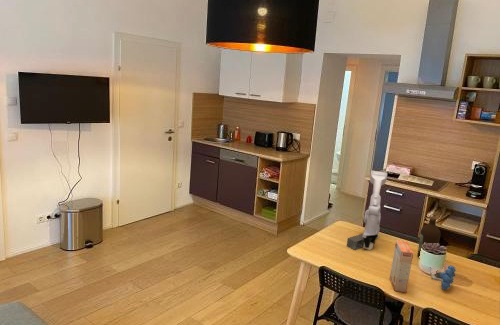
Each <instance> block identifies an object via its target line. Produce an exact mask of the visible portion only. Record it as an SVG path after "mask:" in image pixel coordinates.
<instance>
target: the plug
mask: <svg viewBox="0 0 500 325" xmlns="http://www.w3.org/2000/svg"><path fill="white" fill-rule="evenodd" d="M362 248H363V249H366V250H367V251H369V250H372V249H374V244H373V243H371V242H370V245H369V248H367V247H365V243H364V242H363V245H362Z"/></svg>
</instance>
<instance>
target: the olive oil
mask: <svg viewBox="0 0 500 325" xmlns="http://www.w3.org/2000/svg"><path fill="white" fill-rule="evenodd" d="M428 220H429V222H428V223H427V224H425V225H424V226H422V227H421V229H420V231H419V240H418V248H417V257H418V259H420V258H419V256H420V251H421V248H422V244H423V243H424V242H427V243H438V245H439V244H440V240H441V235H442V234H441V230H440V228H439V227H438V226H437V224H436V223H437V218H436V217H435V216H429V219H428Z"/></svg>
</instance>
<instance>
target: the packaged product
mask: <svg viewBox="0 0 500 325" xmlns="http://www.w3.org/2000/svg"><path fill="white" fill-rule="evenodd" d="M444 262H445V261H444ZM448 266H449V263H447V262H445V264H444V267H443V269H442V270H437V271H436V274H431V273H430V278H431V280H434V281H436V282H437V281H438V282H440V283H441V282H442V281H443V279H442V278H441V277H440V273H442V272H444V273H445V270H446V269H448ZM450 285H453V283H451V284H450Z"/></svg>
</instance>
